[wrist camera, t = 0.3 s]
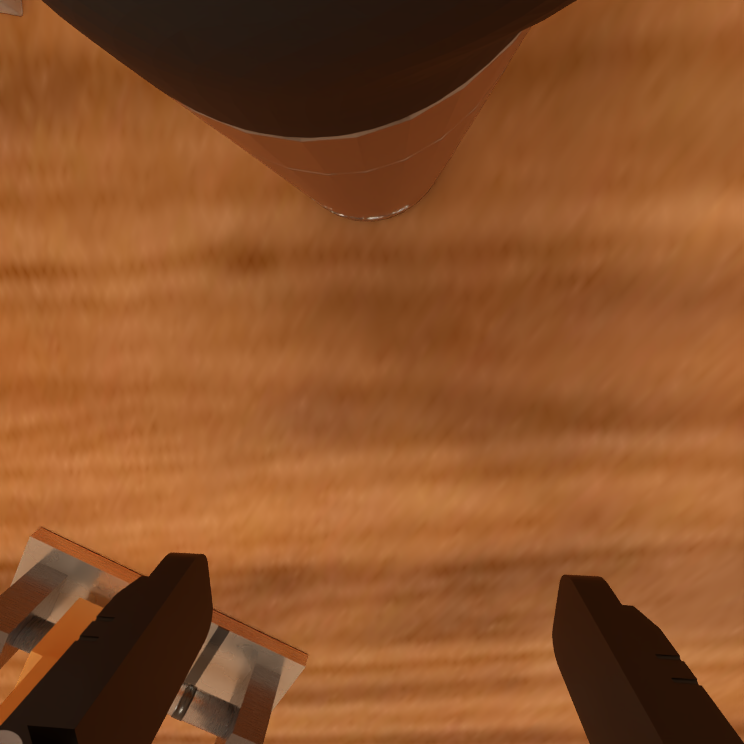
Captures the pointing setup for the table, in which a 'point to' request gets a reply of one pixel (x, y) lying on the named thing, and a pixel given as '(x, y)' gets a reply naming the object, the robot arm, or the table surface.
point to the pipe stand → (210, 669)
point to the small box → (11, 7)
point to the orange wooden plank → (50, 651)
